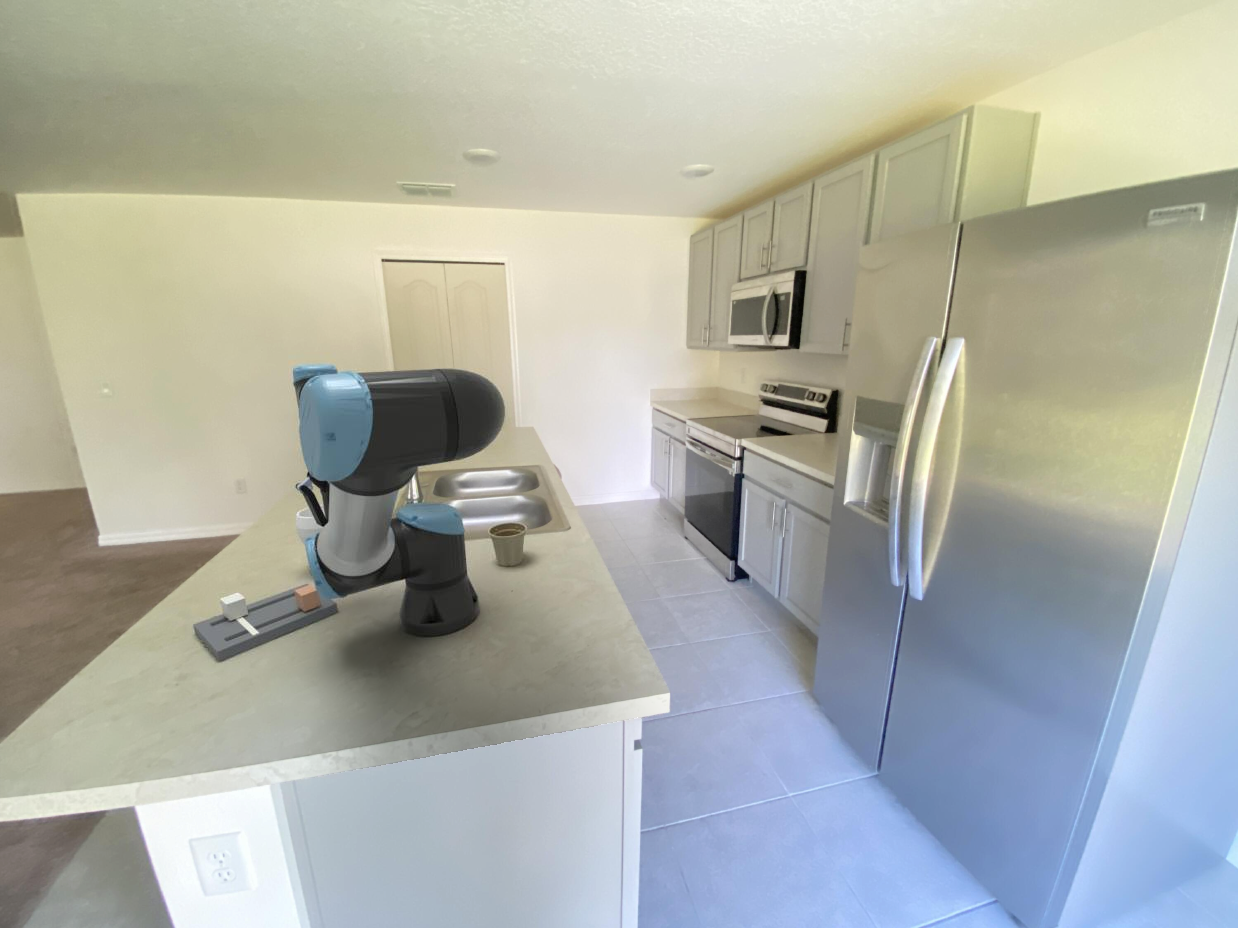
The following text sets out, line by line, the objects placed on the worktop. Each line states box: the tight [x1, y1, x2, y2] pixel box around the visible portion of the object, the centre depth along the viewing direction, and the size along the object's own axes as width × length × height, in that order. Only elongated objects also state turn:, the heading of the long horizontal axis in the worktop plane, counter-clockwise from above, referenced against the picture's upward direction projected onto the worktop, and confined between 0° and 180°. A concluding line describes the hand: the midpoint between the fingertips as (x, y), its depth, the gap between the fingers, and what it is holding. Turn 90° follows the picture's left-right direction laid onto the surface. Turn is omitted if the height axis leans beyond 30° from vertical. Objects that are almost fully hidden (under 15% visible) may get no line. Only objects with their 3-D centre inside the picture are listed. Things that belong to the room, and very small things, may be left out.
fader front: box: [294, 584, 321, 612], centre depth 100 cm, size 4×3×4 cm
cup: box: [295, 504, 325, 546], centre depth 120 cm, size 11×11×15 cm
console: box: [192, 583, 339, 663], centre depth 99 cm, size 14×20×2 cm
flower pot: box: [487, 522, 528, 567], centre depth 124 cm, size 9×9×9 cm
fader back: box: [219, 592, 248, 621], centre depth 97 cm, size 4×3×4 cm
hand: (343, 553), depth 105 cm, fingers closed
